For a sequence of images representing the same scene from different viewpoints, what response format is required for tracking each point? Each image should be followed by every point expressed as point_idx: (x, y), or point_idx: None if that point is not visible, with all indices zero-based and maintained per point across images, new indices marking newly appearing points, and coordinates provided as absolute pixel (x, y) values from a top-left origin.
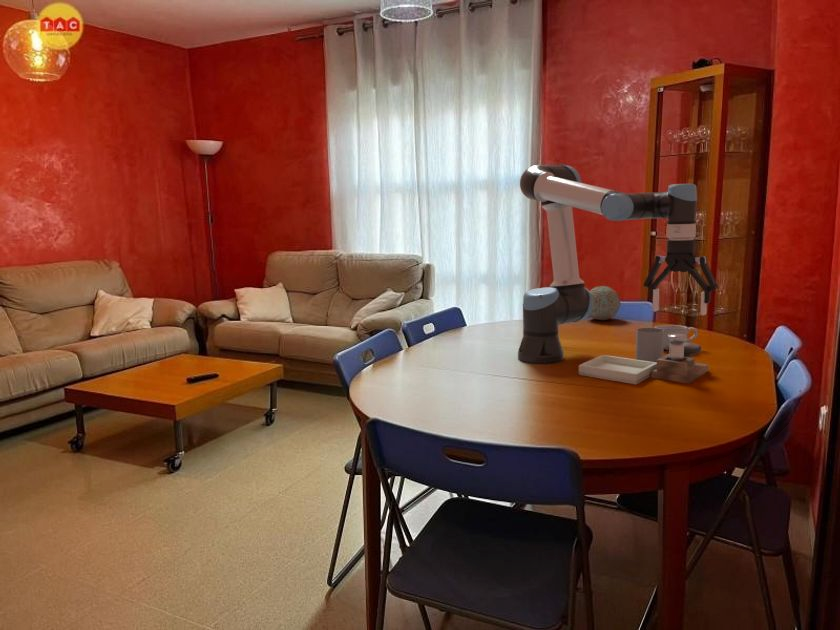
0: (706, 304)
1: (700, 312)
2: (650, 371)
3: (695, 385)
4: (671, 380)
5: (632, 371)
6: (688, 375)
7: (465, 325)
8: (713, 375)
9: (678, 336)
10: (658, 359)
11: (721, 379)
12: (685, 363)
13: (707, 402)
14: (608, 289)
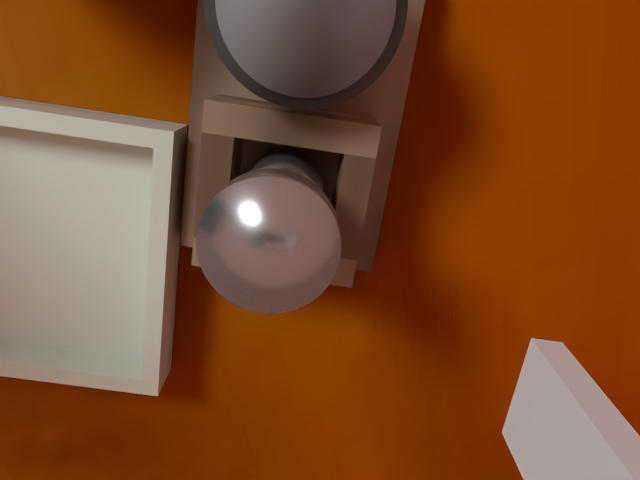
0: (619, 424)
1: (511, 453)
2: (174, 230)
3: (398, 276)
4: None
5: (88, 231)
6: (363, 254)
7: None
8: (459, 54)
9: (286, 278)
10: (197, 257)
11: (501, 120)
12: (351, 282)
13: (466, 466)
14: None
